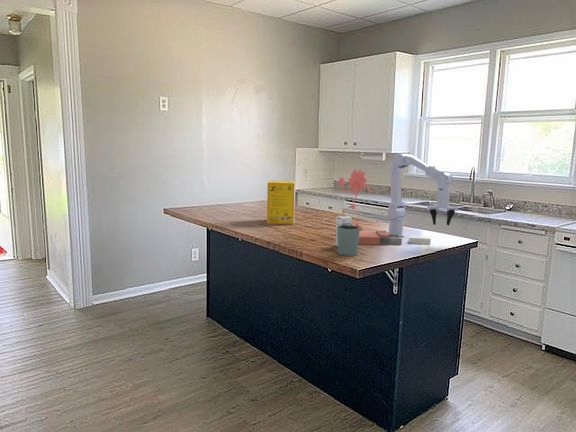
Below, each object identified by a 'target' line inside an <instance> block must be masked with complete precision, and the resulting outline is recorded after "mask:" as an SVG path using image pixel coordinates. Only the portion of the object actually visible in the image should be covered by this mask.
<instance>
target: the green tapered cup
mask: <svg viewBox="0 0 576 432" xmlns="http://www.w3.org/2000/svg"><path fill="white" fill-rule="evenodd" d="M360 227H361V226H360ZM360 227H358V226H356V225H352V226H351V225H341V226H337V240H338V246H337V254H339V255H341V256H347V257H352V256H353V257H354V256H357V255H358V253H359V251H358V250H359V243H358V242H359V232H360Z"/></svg>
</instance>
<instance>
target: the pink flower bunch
mask: <svg viewBox="0 0 576 432" xmlns="http://www.w3.org/2000/svg"><path fill="white" fill-rule="evenodd" d="M365 175H366V173H365V172H364V171H362V169H359V170H358V171H357V170H356V169H353V171H352V173H351V174H350V178H348V179H347V180H348V181H347V182H348V183H349V184H350V185H349V186H350V189H344V185H346V180H345V178H344V177H343V176H342V177H340V178H339V179H338V184H339V186H340V187H341V190H342V191H341V192H351V193H352V194H353V195H355V197H354V199H353V201H354V202H353V203H352V204H350V207H348V208H346V209H343V212H342V213H343V214H345V211H347V210H348V209H352V210H354V209H355V210H356V212H357V219H359V215H360V212H359V210H358V209H357V207H356V205H355V203H356V199H357V195H358V194H359V193H361V192H362V191H363V189H365V188H366V189H367V190H368V191H369V192H370V193H371V194H374V192H373V190H372V189H371V188H370V187H369V186H368V185H367V184H366V183H367V182H368V180H367V178H366V177H365ZM354 226H358V227H360V231H364V230H363V229H362V227H361V226H360V225H359V221H357V223H355V225H354Z"/></svg>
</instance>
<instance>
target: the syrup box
mask: <svg viewBox="0 0 576 432" xmlns="http://www.w3.org/2000/svg"><path fill="white" fill-rule="evenodd" d="M335 223H336V226H335V228H336V229H335V246H336V247H338V240H337V226H341V225H351V226H353V217H352V216H350V215H337V216H336V220H335Z"/></svg>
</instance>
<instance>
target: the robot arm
mask: <svg viewBox="0 0 576 432" xmlns="http://www.w3.org/2000/svg"><path fill="white" fill-rule="evenodd" d="M391 160H392V161H391V165H390V167H389V181H390V183H389V184H390V203H389V204H388V210H387V212H386V213H387V214H386V215H387V217H388V218H389V222H388V231H387V233H389V234H398V238H402V237H405V235H404V234H403V231H404V230H403V229H404V220H405V219H404V217H406V215H407V210H406V208H405V203H404V202H403V199H402V178H401V177H402V175H401V172H402V171H403V170H404V169H405V168H407V167H408V166H410V165H412V166H414V167H415V168H418V170H419V169H420V170H421V171H423V172H424V174H425V176H427V177H428V178H431V179H432V180H433V181H435V182H436V184H437V191H436V192H437V193H436V205H427V206H426V210H427V211H429V212H430V216H431V219H432V225H433V226H434V225H435V226H436V224H437V223H436V222H437V214H438V212H437V211H446V215H447V217H446V225H447V226H450V224H451V222H452V218H453V216H454V215H455V213H456V212H458V210H459V206H450V205H449V204H450V191H451V190H450V189H451V184H452V183H453V175H452V174H451V173H450V172H445V170H441V169H440V168H438V166H437V165H435V164H434V165H433V164H431V165H429V164H427V163H425V162H423V161H422V160H421V159H419V158H418V157H416V156H415V155H412V154H410V153H396V154H395V155H394V156H392V158H391Z"/></svg>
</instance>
